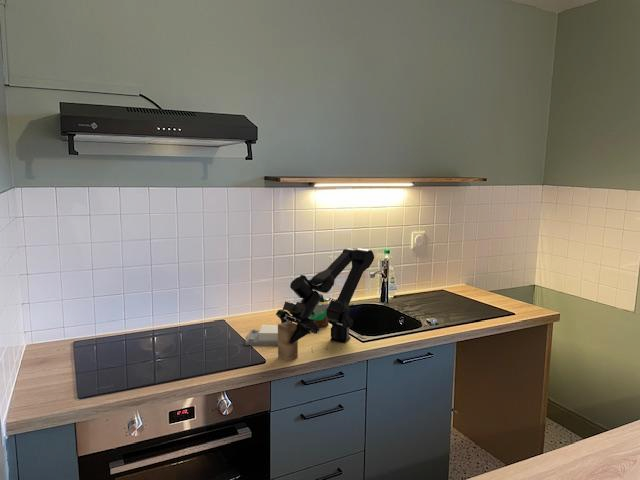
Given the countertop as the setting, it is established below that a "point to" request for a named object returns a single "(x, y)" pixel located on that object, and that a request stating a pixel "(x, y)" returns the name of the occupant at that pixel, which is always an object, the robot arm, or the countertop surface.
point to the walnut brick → (287, 341)
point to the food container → (320, 315)
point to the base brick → (263, 336)
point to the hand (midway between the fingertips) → (284, 341)
